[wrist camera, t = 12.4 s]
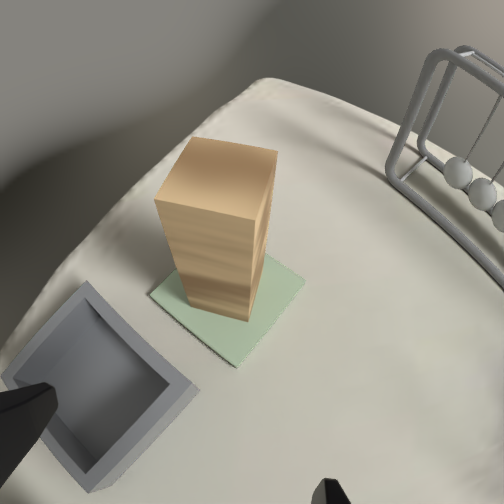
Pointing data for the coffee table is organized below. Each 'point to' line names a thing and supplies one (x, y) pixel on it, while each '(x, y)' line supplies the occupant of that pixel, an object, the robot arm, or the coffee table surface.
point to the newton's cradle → (456, 167)
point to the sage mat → (228, 329)
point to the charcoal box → (99, 388)
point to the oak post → (219, 222)
